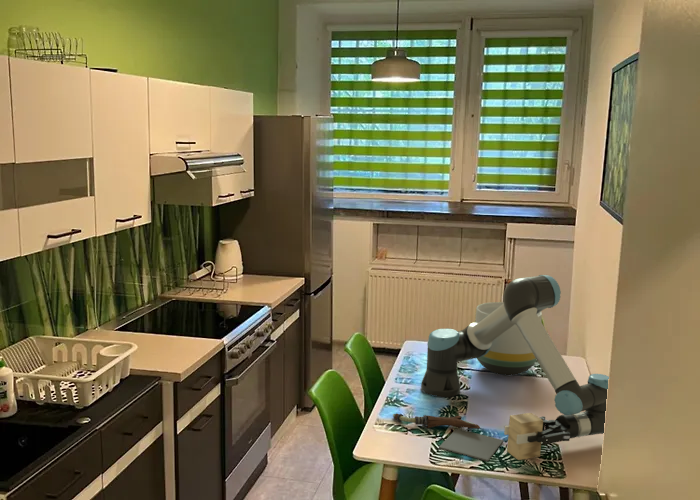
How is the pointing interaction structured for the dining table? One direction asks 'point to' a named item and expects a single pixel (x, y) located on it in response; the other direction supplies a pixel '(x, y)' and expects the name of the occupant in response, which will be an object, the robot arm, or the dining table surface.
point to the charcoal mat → (471, 444)
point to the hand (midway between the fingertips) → (511, 434)
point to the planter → (506, 347)
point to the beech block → (524, 426)
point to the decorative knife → (436, 421)
